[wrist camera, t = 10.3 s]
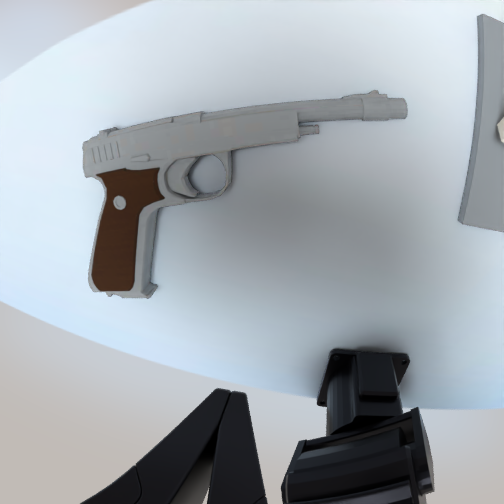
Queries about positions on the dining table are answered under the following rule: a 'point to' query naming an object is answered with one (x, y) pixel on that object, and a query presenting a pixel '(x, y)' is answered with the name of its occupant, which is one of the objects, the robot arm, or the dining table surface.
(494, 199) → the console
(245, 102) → the dining table surface
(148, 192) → the handgun
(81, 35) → the dining table surface
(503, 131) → the lever
